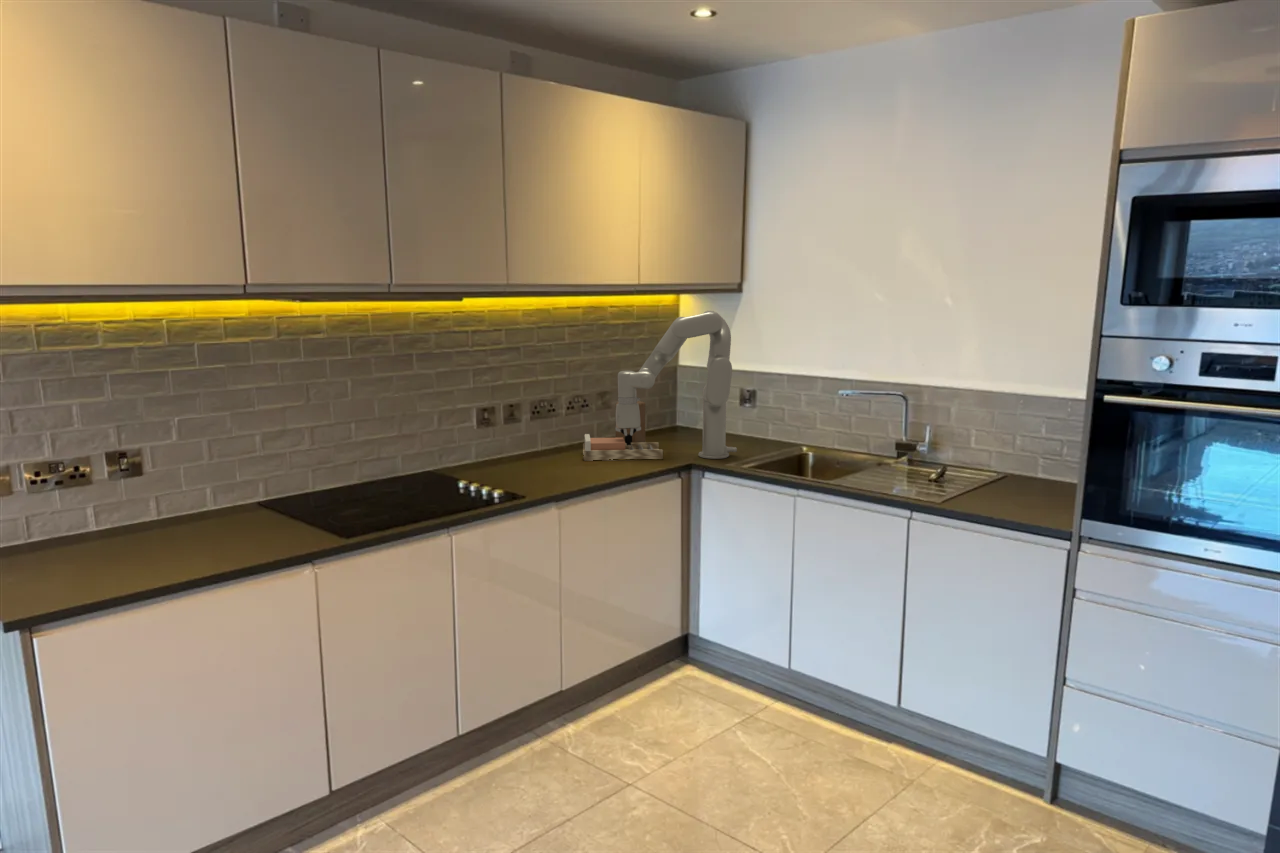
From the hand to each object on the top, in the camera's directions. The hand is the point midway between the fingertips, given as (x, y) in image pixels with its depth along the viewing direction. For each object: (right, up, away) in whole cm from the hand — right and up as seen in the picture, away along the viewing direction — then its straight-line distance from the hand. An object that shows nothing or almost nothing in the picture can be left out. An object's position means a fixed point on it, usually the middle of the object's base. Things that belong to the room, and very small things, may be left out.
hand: (628, 444), depth 342 cm
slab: (-9, -1, -1) cm, 9 cm away
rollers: (-3, -3, 0) cm, 4 cm away
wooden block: (+1, -2, +20) cm, 20 cm away
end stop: (-17, -3, -1) cm, 17 cm away
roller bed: (-3, -5, +1) cm, 5 cm away
